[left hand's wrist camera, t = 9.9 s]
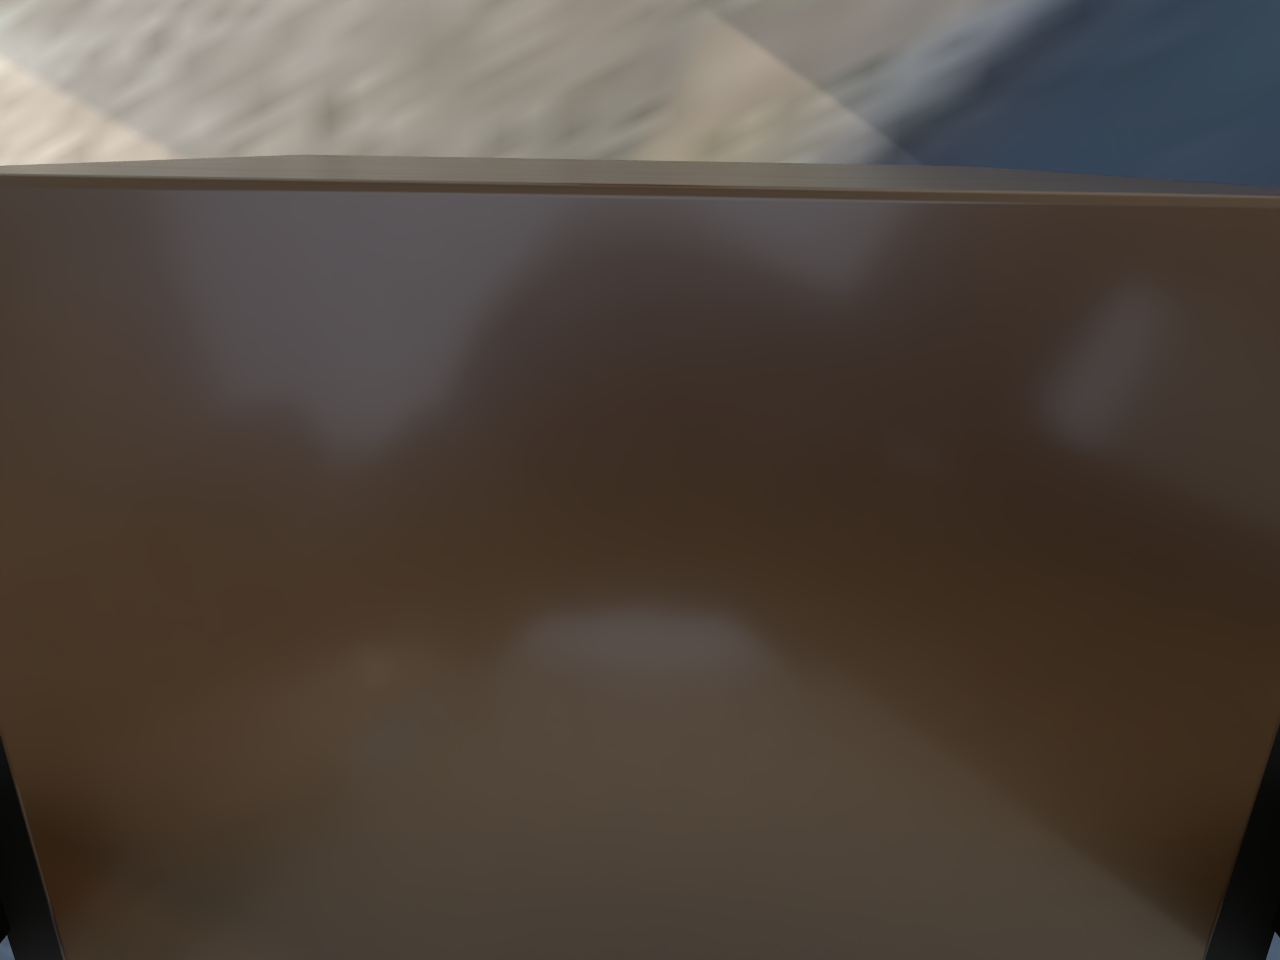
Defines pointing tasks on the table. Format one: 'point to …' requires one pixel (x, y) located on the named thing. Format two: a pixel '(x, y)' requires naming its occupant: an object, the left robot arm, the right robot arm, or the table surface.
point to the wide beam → (635, 557)
